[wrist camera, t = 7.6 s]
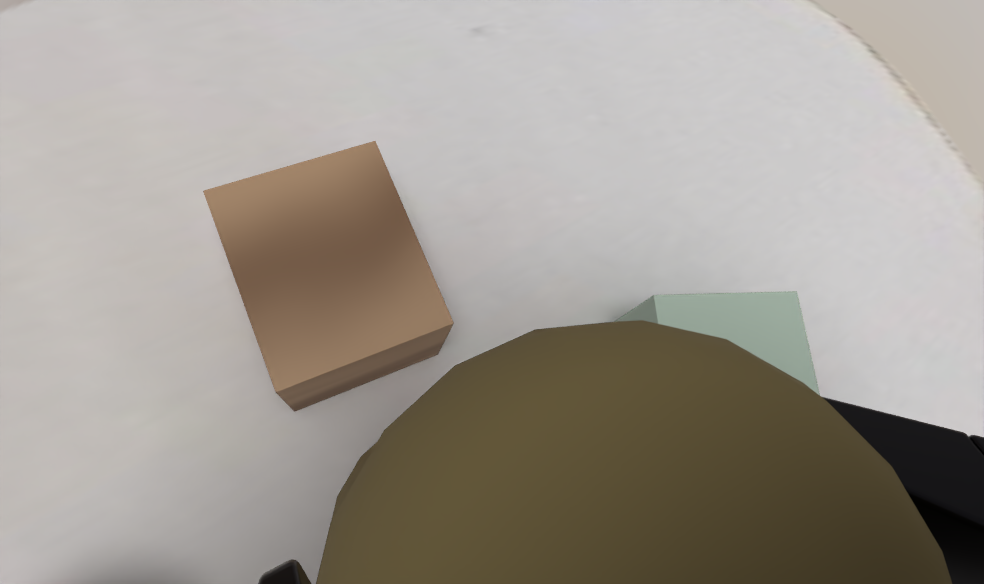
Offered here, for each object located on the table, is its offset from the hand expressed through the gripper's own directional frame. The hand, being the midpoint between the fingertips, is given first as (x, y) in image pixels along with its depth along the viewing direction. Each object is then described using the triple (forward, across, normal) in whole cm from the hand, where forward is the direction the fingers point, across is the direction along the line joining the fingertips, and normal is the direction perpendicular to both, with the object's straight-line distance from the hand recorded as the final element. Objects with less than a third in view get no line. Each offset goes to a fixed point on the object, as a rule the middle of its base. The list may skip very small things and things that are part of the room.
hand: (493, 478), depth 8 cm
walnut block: (+14, 0, +4) cm, 15 cm away
